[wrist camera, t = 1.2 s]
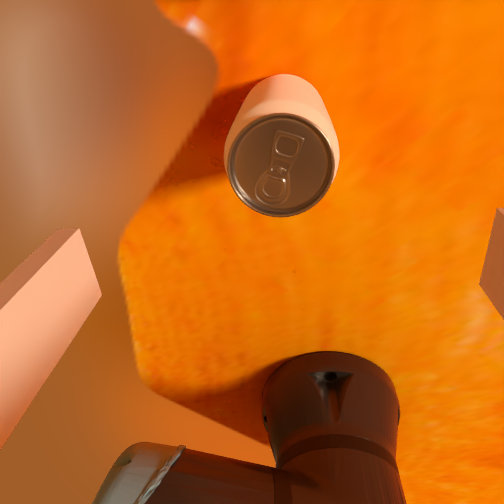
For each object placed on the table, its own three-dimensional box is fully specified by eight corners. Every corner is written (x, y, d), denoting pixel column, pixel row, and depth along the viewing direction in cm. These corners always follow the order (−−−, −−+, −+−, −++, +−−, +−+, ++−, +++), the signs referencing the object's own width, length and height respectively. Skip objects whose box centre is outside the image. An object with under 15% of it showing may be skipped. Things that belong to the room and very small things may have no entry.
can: (232, 146, 33) (207, 206, 23) (253, 61, 30) (235, 86, 19) (308, 168, 33) (317, 237, 23) (337, 87, 30) (363, 126, 20)
